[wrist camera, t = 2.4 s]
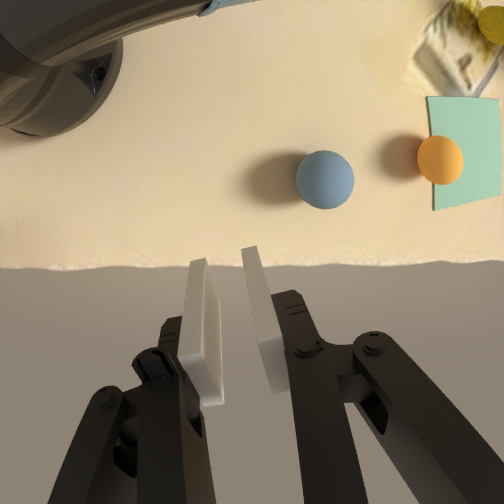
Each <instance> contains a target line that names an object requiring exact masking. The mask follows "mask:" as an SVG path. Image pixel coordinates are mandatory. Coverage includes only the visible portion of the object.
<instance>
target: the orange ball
mask: <svg viewBox="0 0 504 504" xmlns="http://www.w3.org/2000/svg"><path fill="white" fill-rule="evenodd" d="M417 162H418V167H419V169H420V171H421V173H422V174H423V176H424V177H425V178H426V179H427V180H429V181H430V182H432V183H434V184H437V185H448V184H450V183H452V182H454V181H455V180H456V179H457V178H458V177H459V176H460V174H461V172H462V169H463V156H462V153H461V150H460V148H459V147H458V146H457V144H456V143H455V142H454V141H453V140H451V139H449V138H448V137H445V136H440V135H435V136H431V137H429V138H427V139H426V140H424V141H423V142H422V144H421V145H420V147H419V149H418V153H417Z"/></svg>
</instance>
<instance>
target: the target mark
mask: <svg viewBox="0 0 504 504" xmlns="http://www.w3.org/2000/svg"><path fill="white" fill-rule="evenodd" d="M427 102H428V109H429V118H430V127H431V136H435V135H440V136H445V137H448V138H449V139H451V140H453V141H454V142H455V143H456V144H457V146H458V147H459V148H460V150H461V153H462V156H463V169H462V172H461V174H460V176H459V177H458V178H457V179H456V180H455V181H454V182H452V183H450V184H448V185H437V184H434V211H436V210H440V209H444V208H448V207H453V206H457V205H461V204H465V203H469V202H473V201H477V200H482V199H486V198H490V197H494V196H498V195H501V170H502V149H501V125H500V111H499V101H498V99H486V98H469V97H427Z"/></svg>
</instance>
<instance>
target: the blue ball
mask: <svg viewBox="0 0 504 504" xmlns="http://www.w3.org/2000/svg"><path fill="white" fill-rule="evenodd" d="M295 181H296V187H297V190H298V192H299V194H300V196H301V197H302V198H303V200H304V201H306V202H307V203H308V204H310V205H311V206H313V207H316V208H319V209H332V208H335V207H338V206H340V205H341V204H343V203H344V202H345V201H346V200H347V199H348V198H349V196H350V195H351V193H352V190H353V186H354V175H353V171H352V169H351V167H350V165H349V163H348V162H347V161H346V160H345V159H344V158H343V157H342V156H340V155H339V154H337V153H334V152H331V151H317V152H314V153H311V154H309V155H308V156H306V157H305V158H304V159H303V160H302V161H301V163H300V164H299V166H298V168H297V171H296V177H295Z"/></svg>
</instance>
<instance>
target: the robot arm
mask: <svg viewBox="0 0 504 504" xmlns="http://www.w3.org/2000/svg"><path fill="white" fill-rule="evenodd" d="M254 1H259V0H0V126H4V127H9V128H11V129H12V130H14V131H15V132H17V133H20V134H22V135H25V136H29V137H47V136H52V135H58V134H62V133H65V132H67V131H70V130H72V129H74V128H76V127H77V126H79V125H81V124H82V123H83V122H85V121H86V120H87V119H88V118H90V117H91V116H92V115H93V114H94V113H95V112H96V111H97V110H98V109H99V107H100V106H101V105H102V104H103V102H104V101H105V100H106V98H107V97H108V95H109V93H110V92H111V90H112V88H113V86H114V84H115V82H116V79H117V77H118V74H119V71H120V67H121V63H122V56H123V39H122V37H124V36H127V35H130V34H133V33H135V32H138V31H141V30H144V29H147V28H150V27H154V26H157V25H160V24H164V23H167V22H171V21H174V20H178V19H182V18H186V17H190V16H194V15H197V16H199V17H202V16H206V15H209V14H211V13H213V12H214V11H215V10H216V9H220V8H224V7H228V6H233V5H238V4H243V3H248V2H254ZM241 253H242V259H243V265H244V271H245V276H246V282H247V288H248V293H249V299H250V305H251V310H252V316H253V322H254V327H255V333H256V338H257V343H258V346H259V350H260V353H261V357H262V361H263V364H264V368H265V371H266V375H267V378H268V382H269V385H270V389H271V392H272V394H275V393H280V392H284V391H288V390H290V392H291V399H292V407H293V414H294V422H295V430H296V437H297V446H298V454H299V462H300V470H301V478H302V487H303V496H304V504H368V499H367V495H366V490H365V486H364V482H363V478H362V474H361V469H360V465H359V461H358V457H357V453H356V449H355V445H354V441H353V437H352V433H351V429H350V425H349V422H348V418H347V414H346V410H345V406H344V403H351V402H353V403H354V405H355V406H356V408H357V409H358V411H359V412H360V414H361V415H362V417H363V418H364V420H365V421H366V423H367V425H368V426H369V427H370V429H371V430H372V432H373V434H374V435H375V437H376V438H377V440H378V441H379V443H380V444H381V446H382V447H383V449H384V450H385V452H386V453H387V455H388V456H389V458H390V459H391V461H392V462H393V464H394V466H395V467H396V469H397V470H398V472H399V473H400V475H401V476H402V478H403V479H404V481H405V482H406V484H407V485H408V487H409V488H410V490H411V491H412V493H413V494H414V496H415V497H416V499H417V501H418V502H419V503H420V504H504V463H503V461H502V460H501V459H500V458H499V456H498V455H497V454H496V453H495V452H494V450H493V449H492V448H491V447H490V446H489V445H488V443H487V442H486V441H485V440H484V439H483V438H482V436H481V435H480V434H479V433H478V432H477V431H476V430H475V428H474V427H473V426H472V425H471V424H470V422H469V421H468V420H467V419H466V418H465V417H464V416H463V415H462V414H461V412H460V411H459V410H458V409H457V408H456V407H455V406H454V405H453V404H452V402H451V401H450V400H449V399H448V398H447V397H446V396H445V394H444V393H443V392H442V391H441V390H440V389H439V388H438V387H437V386H436V385H435V383H434V382H433V381H432V380H431V379H430V378H429V377H428V376H427V375H426V374H425V373H424V372H423V371H422V369H421V368H420V367H419V366H418V365H417V364H416V363H415V362H414V361H413V360H412V359H411V358H410V357H409V356H408V355H407V353H405V351H404V350H403V349H402V348H401V347H400V346H399V345H398V344H397V343H396V342H395V341H394V340H393V339H392V338H391V337H390V336H388V335H387V334H386V333H382V332H378V331H370V332H367V333H363V334H362V335H360V336H358V337H357V338H356V340H355V341H354V342H353V344H351V345H335V344H331V343H328V342H326V341H324V339H322V338H321V337H320V335H319V334H318V332H317V329H316V327H315V325H314V323H313V320H312V318H311V315H310V313H309V311H308V309H307V306H306V305H305V302H304V299H303V297H302V295H301V294H299V293H298V292H296V291H295V290H289V291H285V292H281V293H277V294H273V295H270V292H269V288H268V285H267V281H266V278H265V274H264V271H263V267H262V264H261V260H260V257H259V253H258V250H257V246H253V247H248V248H244V249H241ZM220 321H221V320H220V302H219V299H218V296H217V293H216V289H215V286H214V283H213V280H212V277H211V274H210V270H209V267H208V264H207V261H206V258H202V259H198V260H194V261H191V262H190V268H189V274H188V281H187V288H186V294H185V301H184V308H183V315H182V316H178V317H173V318H168V319H167V320H166V322H165V323H164V324H163V326H162V327H161V332H160V337H159V341H158V346H157V347H153V348H149V349H146V350H144V351H142V352H141V353H140V354H138V355H137V356H136V357H135V358H134V360H133V362H132V367H133V368H134V370H135V372H136V373H137V375H138V376H139V378H140V379H141V381H142V384H141V385H140V386H138V387H136V388H133V389H130V390H128V391H125V392H122V391H121V390H120V389H119V388H118V387H116V386H106V387H103V388H101V389H99V390H98V391H97V392H96V393H95V394H94V395H93V396H92V398H91V400H90V402H89V404H88V406H87V409H86V411H85V413H84V415H83V417H82V420H81V422H80V424H79V426H78V428H77V431H76V433H75V435H74V438H73V440H72V442H71V445H70V447H69V449H68V452H67V454H66V457H65V459H64V462H63V464H62V467H61V469H60V471H59V474H58V477H57V479H56V482H55V484H54V487H53V490H52V493H51V495H50V498H49V501H48V503H47V504H216V499H215V493H214V487H213V480H212V473H211V467H210V460H209V453H208V445H207V438H206V430H205V422H204V417H203V414H202V412H201V410H200V400H201V402H202V404H203V406H204V407H206V406H213V405H219V404H224V389H223V370H222V349H221V348H222V347H221V322H220Z"/></svg>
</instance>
